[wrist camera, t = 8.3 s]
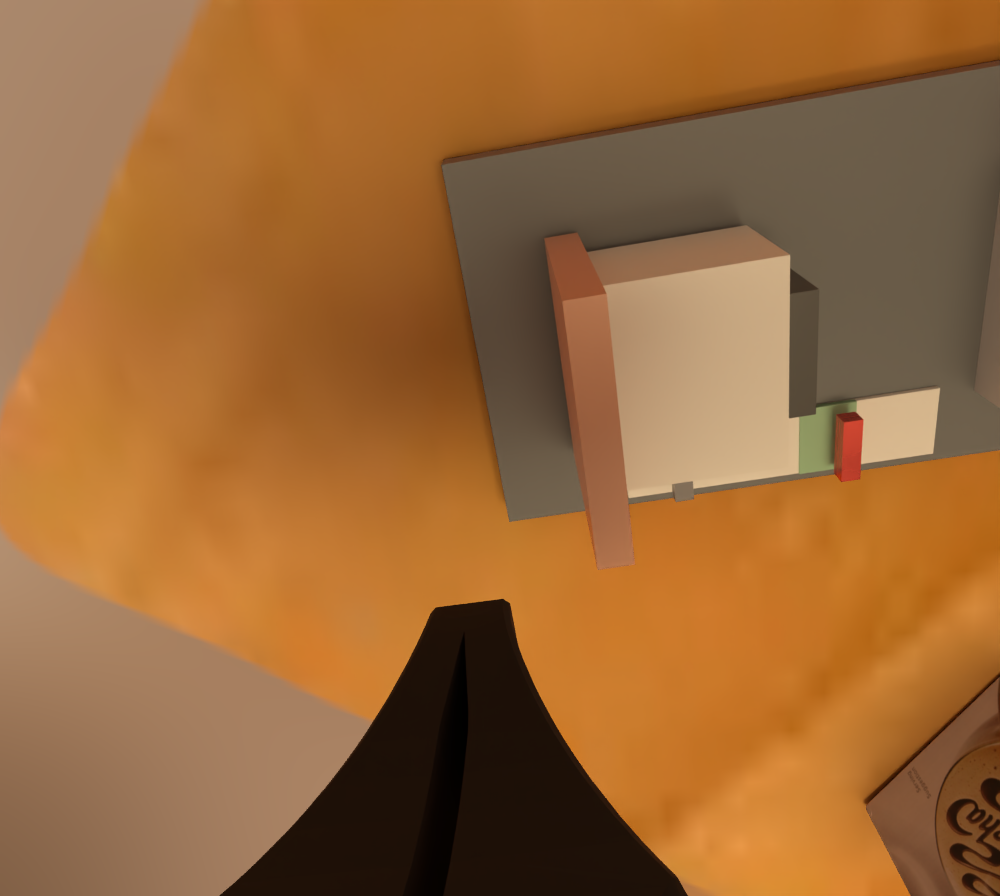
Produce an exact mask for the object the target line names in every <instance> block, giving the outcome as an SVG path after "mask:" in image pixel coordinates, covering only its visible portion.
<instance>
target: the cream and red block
mask: <svg viewBox="0 0 1000 896" xmlns="http://www.w3.org/2000/svg"><path fill="white" fill-rule="evenodd" d="M544 241H545V248H546V255H547V263H548V270H549V277H550V284H551V292H552V299H553V306H554V313H555V321H556V328H557V335H558V342H559V350H560V357H561V364H562V371H563V379H564V386H565V393H566V400H567V408H568V415H569V422H570V429H571V437H572V444H573V451H574V458H575V463H576V467H577V472H578V477H579V482H580V487H581V492H582V496H583V501H584V506H585V511H586V516H587V521H588V525H589V530H590V535H591V540H592V545H593V550H594V554H595V559H596V564H597V569H598V570H600V569H607V568H614V567H621V566H628V565H635V561H634V552H633V542H632V532H631V523H630V513H629V504H628V494H627V491H629V490H636V489H643V488H650V487H656V486H663V485H670V484H672V493H673V497H674V499H675V501H676V502H678V501H685V500H692V499H694V490H693V481H697V480H704V479H711V478H717V477H724V476H731V475H738V474H744V473H751V472H758V471H765V470H772V469H778V468H785V467H788V451H789V418H795V417H802V416H809V415H815V414H816V397H817V360H818V323H819V289H818V288H817V287H816V286H814V285H813V284H811V283H810V282H809V281H807V280H806V279H805V278H803V277H802V276H800V275H799V274H798V273H796V272H795V271H793V270H792V269H791V268H790V254H788V253H787V252H785V251H784V250H782V249H781V248H779V247H778V246H776V245H775V244H773V243H772V242H770V241H769V240H768V239H766V238H765V237H763V236H762V235H760V234H759V233H757V232H756V231H754V230H753V229H751V228H750V227H748V226H747V225H744V226H739V227H733V228H727V229H721V230H715V231H709V232H703V233H697V234H691V235H685V236H679V237H673V238H667V239H661V240H656V241H650V242H644V243H638V244H632V245H626V246H620V247H614V248H608V249H602V250H596V251H590V252H586V250H585V248H584V245H583V243H582V241H581V239H580V237H579V235H578V233H572V234H566V235H560V236H554V237H548V238H544Z"/></svg>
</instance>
